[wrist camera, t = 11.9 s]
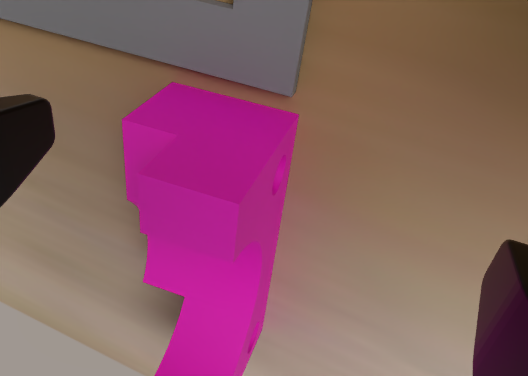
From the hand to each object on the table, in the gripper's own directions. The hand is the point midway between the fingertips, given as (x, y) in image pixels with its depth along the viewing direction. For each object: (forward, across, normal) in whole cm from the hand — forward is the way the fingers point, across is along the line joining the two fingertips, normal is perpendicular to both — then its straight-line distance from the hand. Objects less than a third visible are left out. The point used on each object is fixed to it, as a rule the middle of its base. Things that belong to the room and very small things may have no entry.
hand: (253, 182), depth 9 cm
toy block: (+12, +5, +12) cm, 18 cm away
